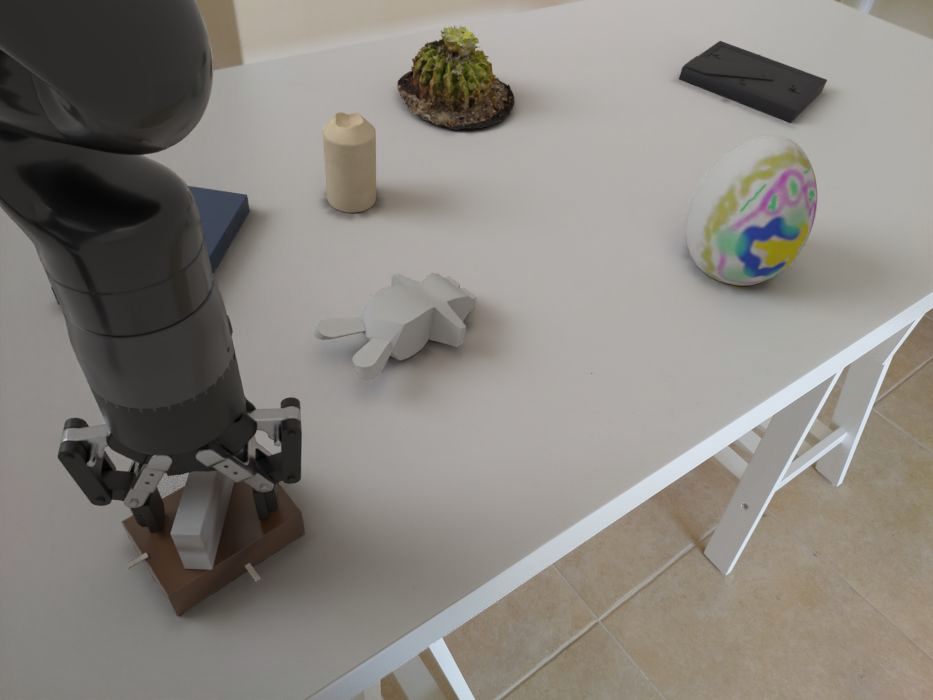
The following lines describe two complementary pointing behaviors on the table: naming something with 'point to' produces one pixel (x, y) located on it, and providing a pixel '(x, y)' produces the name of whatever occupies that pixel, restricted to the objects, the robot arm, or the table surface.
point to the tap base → (236, 551)
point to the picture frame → (753, 80)
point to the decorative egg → (752, 211)
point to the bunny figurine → (404, 321)
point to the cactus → (455, 84)
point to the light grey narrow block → (201, 518)
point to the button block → (218, 219)
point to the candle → (350, 162)
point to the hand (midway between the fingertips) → (212, 514)
